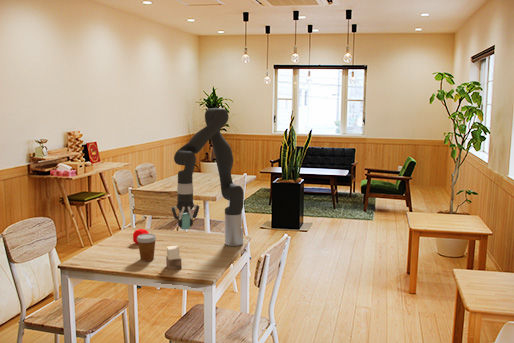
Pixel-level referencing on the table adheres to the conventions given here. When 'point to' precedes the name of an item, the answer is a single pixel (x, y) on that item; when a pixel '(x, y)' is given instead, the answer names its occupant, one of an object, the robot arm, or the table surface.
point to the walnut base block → (173, 264)
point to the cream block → (173, 252)
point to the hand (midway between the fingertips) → (185, 226)
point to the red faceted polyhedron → (139, 232)
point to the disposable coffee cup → (146, 246)
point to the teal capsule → (185, 221)
